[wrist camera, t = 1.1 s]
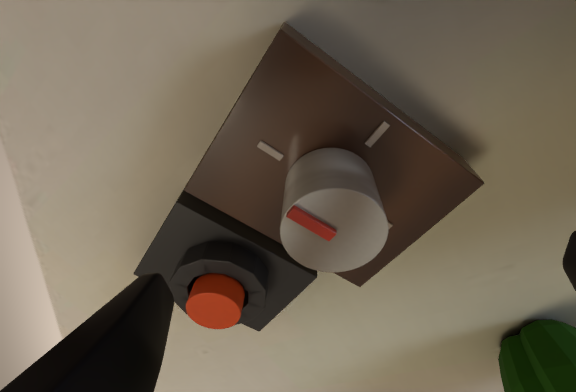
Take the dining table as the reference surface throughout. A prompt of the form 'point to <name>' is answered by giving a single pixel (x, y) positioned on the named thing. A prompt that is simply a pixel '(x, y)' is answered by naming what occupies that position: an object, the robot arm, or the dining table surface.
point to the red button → (215, 301)
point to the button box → (224, 259)
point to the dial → (332, 212)
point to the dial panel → (326, 134)
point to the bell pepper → (540, 358)
